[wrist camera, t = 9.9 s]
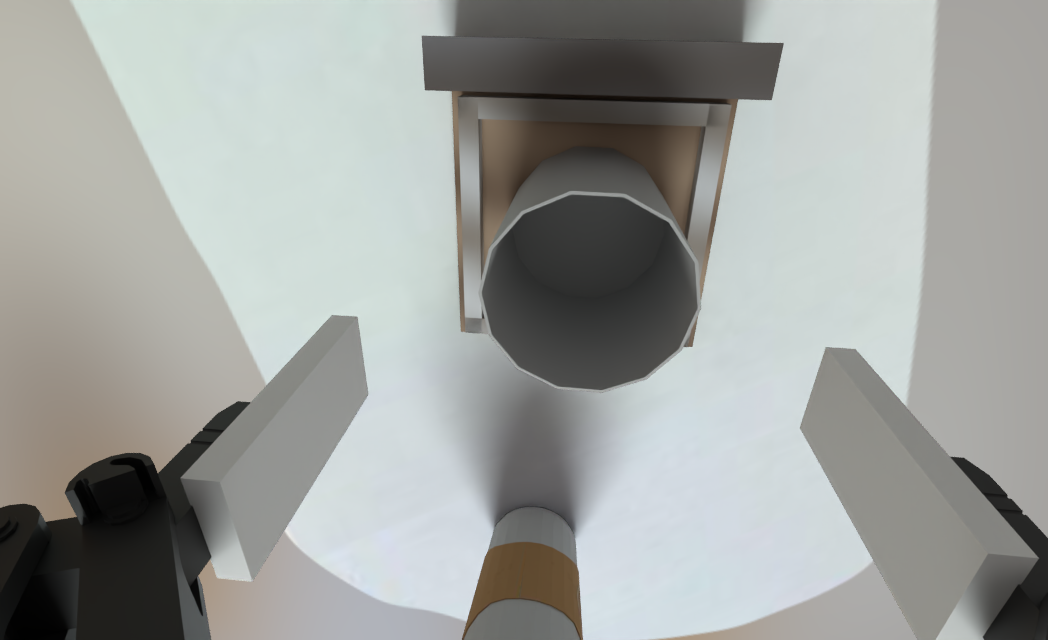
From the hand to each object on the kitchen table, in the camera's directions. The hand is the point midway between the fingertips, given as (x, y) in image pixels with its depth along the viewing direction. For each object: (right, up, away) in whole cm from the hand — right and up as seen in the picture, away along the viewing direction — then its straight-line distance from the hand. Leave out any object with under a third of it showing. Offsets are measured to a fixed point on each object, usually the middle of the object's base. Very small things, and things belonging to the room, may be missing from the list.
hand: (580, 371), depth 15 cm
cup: (+2, +7, +14) cm, 16 cm away
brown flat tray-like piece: (+2, +8, +14) cm, 17 cm away
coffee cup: (-1, -15, +26) cm, 30 cm away
